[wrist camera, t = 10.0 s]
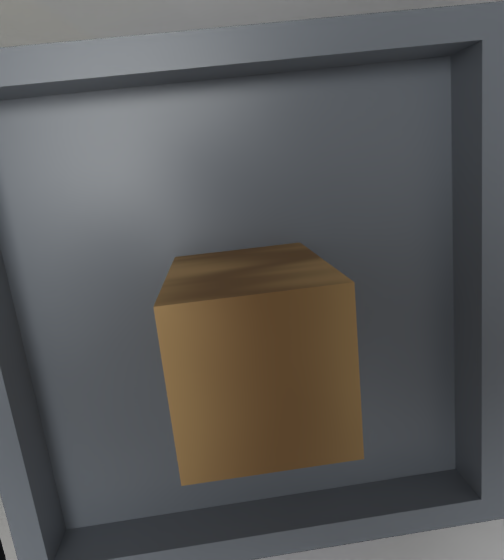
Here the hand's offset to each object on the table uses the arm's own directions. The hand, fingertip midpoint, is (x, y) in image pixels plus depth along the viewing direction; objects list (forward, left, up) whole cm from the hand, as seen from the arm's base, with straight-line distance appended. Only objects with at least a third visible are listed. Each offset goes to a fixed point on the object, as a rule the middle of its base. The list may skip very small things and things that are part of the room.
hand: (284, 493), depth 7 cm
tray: (0, 0, -11) cm, 11 cm away
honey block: (0, 0, -10) cm, 10 cm away
